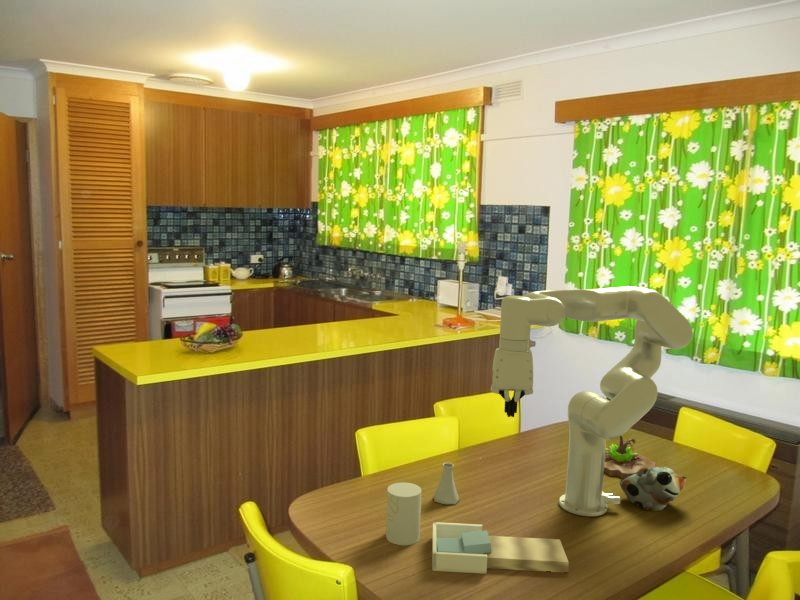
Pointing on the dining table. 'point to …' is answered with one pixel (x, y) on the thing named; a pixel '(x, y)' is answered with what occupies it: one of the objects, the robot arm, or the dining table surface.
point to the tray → (456, 560)
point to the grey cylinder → (403, 513)
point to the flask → (446, 487)
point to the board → (527, 554)
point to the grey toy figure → (653, 487)
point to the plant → (625, 460)
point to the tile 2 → (476, 542)
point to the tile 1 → (450, 545)
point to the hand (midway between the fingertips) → (510, 415)
